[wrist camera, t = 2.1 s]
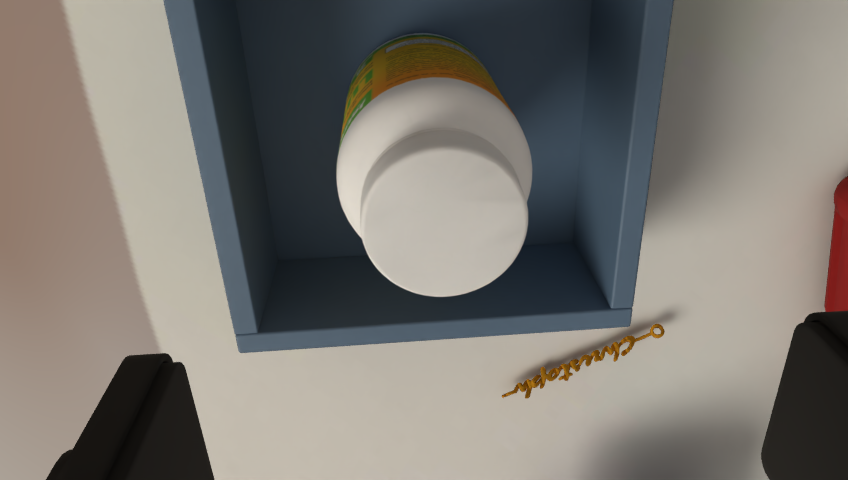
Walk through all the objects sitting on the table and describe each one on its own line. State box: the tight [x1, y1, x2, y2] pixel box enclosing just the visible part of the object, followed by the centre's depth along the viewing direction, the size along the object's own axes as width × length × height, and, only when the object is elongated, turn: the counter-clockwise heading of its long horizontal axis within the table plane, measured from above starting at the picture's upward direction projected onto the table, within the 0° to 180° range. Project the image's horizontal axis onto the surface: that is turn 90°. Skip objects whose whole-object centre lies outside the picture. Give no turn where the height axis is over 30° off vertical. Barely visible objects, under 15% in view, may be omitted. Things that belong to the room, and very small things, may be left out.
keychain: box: [502, 324, 664, 398], centre depth 30 cm, size 8×1×1 cm, turn 117°
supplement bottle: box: [336, 33, 532, 297], centre depth 20 cm, size 5×5×10 cm
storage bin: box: [164, 0, 674, 353], centre depth 22 cm, size 14×14×6 cm
